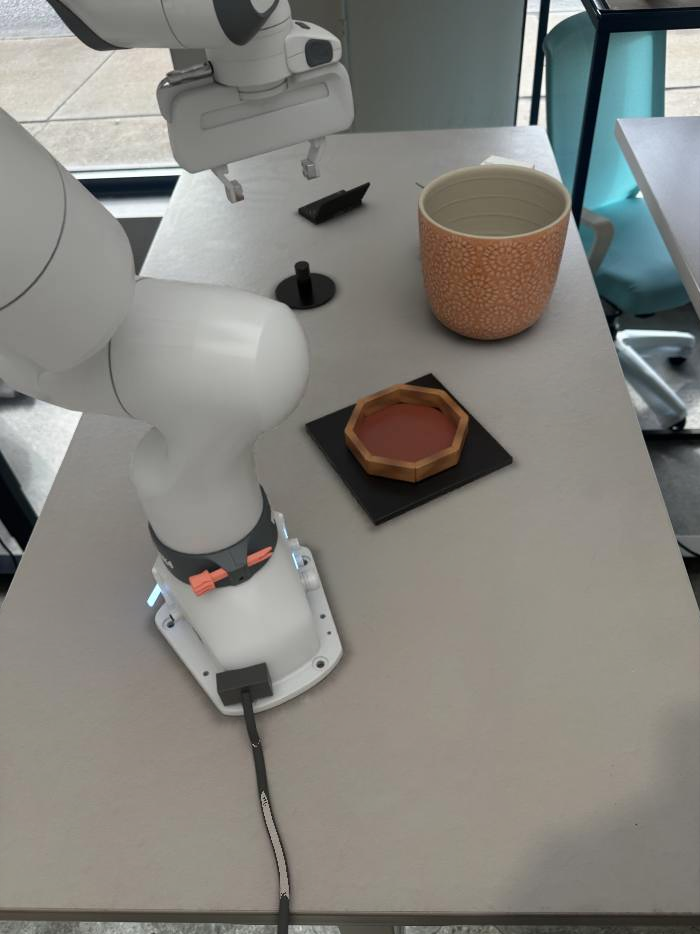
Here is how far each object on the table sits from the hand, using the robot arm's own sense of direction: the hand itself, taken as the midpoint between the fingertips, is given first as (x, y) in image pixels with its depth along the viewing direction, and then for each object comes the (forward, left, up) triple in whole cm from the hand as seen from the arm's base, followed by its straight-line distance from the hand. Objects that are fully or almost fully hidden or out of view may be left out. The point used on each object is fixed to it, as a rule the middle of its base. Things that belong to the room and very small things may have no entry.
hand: (274, 188), depth 83 cm
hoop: (-18, -6, -28) cm, 34 cm away
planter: (0, -31, -29) cm, 43 cm away
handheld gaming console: (+43, -26, -29) cm, 58 cm away
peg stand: (+22, -10, -29) cm, 38 cm away
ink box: (+20, -48, -29) cm, 60 cm away
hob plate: (-18, -6, -29) cm, 35 cm away
